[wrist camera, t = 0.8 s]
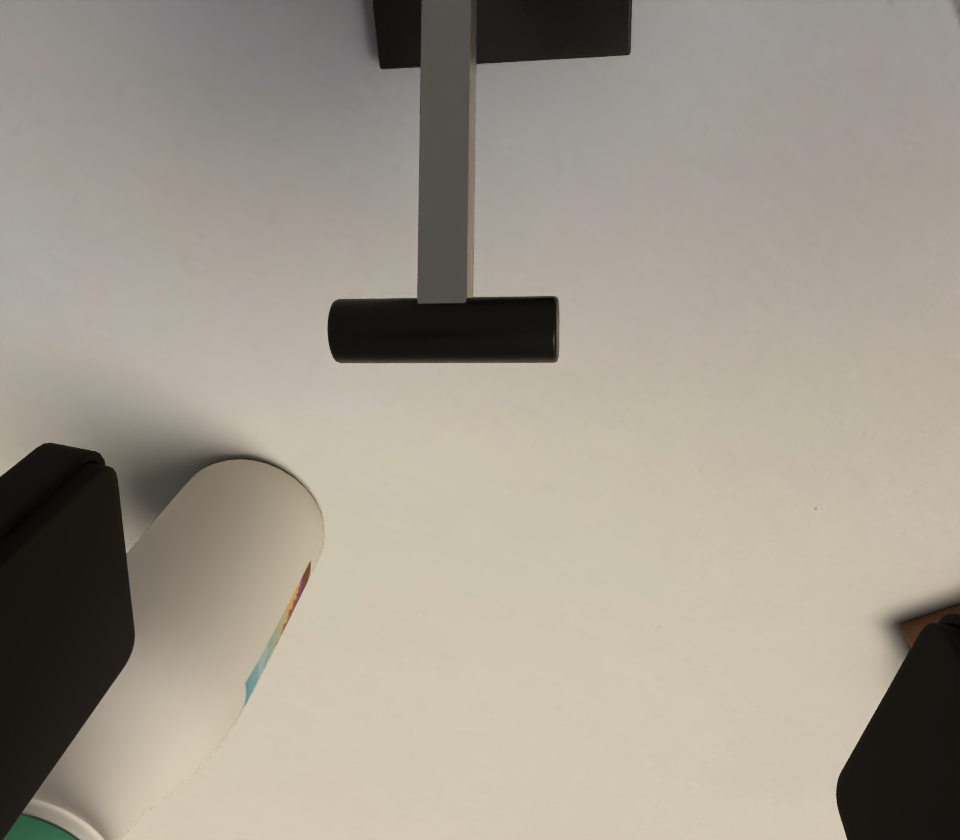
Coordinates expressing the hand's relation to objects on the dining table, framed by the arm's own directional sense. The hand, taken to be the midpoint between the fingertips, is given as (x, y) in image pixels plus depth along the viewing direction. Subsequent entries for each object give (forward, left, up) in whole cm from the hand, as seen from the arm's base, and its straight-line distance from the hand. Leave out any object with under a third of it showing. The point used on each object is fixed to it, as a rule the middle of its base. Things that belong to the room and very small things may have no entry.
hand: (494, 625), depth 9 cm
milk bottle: (+16, +16, -25) cm, 34 cm away
